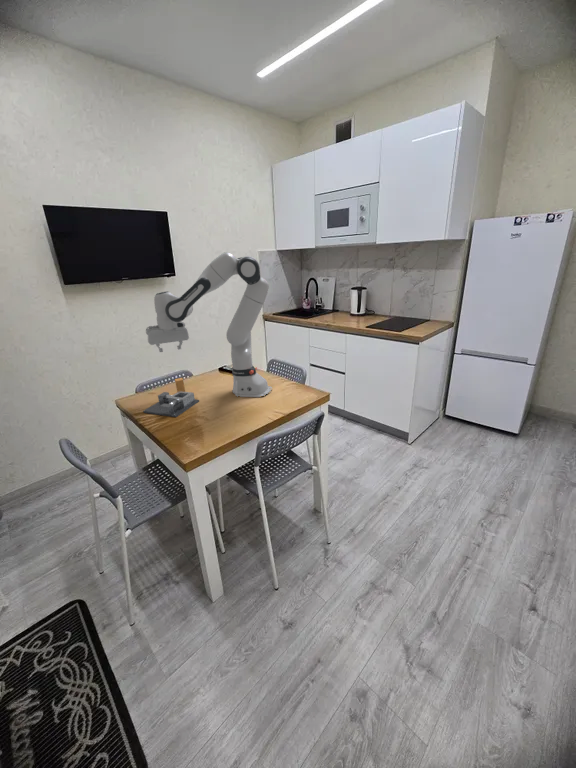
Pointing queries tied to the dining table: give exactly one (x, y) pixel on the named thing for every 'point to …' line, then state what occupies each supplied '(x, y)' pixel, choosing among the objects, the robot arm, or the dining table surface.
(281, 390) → the dining table surface
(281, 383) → the dining table surface
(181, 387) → the orange brown rectangular block
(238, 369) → the robot arm
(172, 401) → the coupling frame
